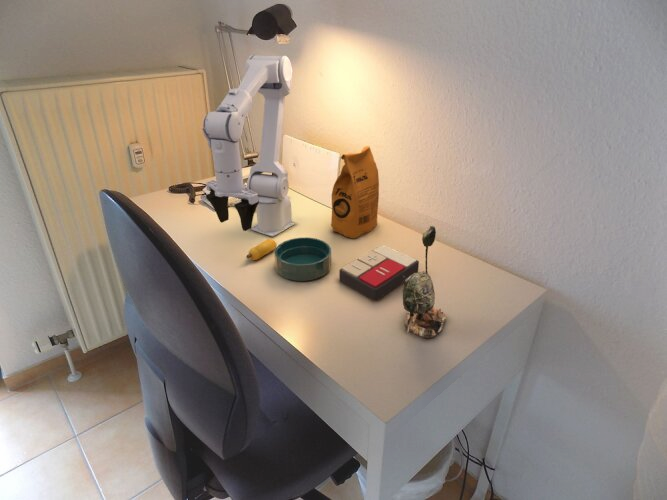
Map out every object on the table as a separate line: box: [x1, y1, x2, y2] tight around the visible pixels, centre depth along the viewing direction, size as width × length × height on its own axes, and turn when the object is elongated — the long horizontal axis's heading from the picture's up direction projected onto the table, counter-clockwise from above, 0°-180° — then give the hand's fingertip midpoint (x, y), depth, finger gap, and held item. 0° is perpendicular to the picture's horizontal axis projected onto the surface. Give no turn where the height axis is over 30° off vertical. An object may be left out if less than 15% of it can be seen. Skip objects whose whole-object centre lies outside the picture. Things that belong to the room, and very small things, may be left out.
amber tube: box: [246, 238, 277, 261], centre depth 107 cm, size 10×3×3 cm, turn 145°
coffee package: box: [330, 145, 380, 239], centre depth 115 cm, size 10×12×22 cm
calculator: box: [338, 244, 420, 302], centre depth 97 cm, size 11×4×15 cm
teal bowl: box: [274, 236, 332, 282], centre depth 101 cm, size 13×13×4 cm
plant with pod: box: [402, 225, 447, 339], centre depth 79 cm, size 8×11×20 cm
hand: (235, 225), depth 100 cm, fingers open, 7 cm apart
